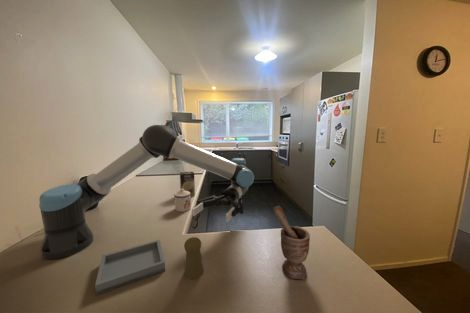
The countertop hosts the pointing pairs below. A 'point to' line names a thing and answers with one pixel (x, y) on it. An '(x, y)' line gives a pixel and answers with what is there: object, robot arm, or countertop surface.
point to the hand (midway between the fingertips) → (209, 215)
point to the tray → (129, 266)
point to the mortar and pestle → (293, 246)
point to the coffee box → (187, 182)
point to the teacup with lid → (182, 200)
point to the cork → (193, 258)
